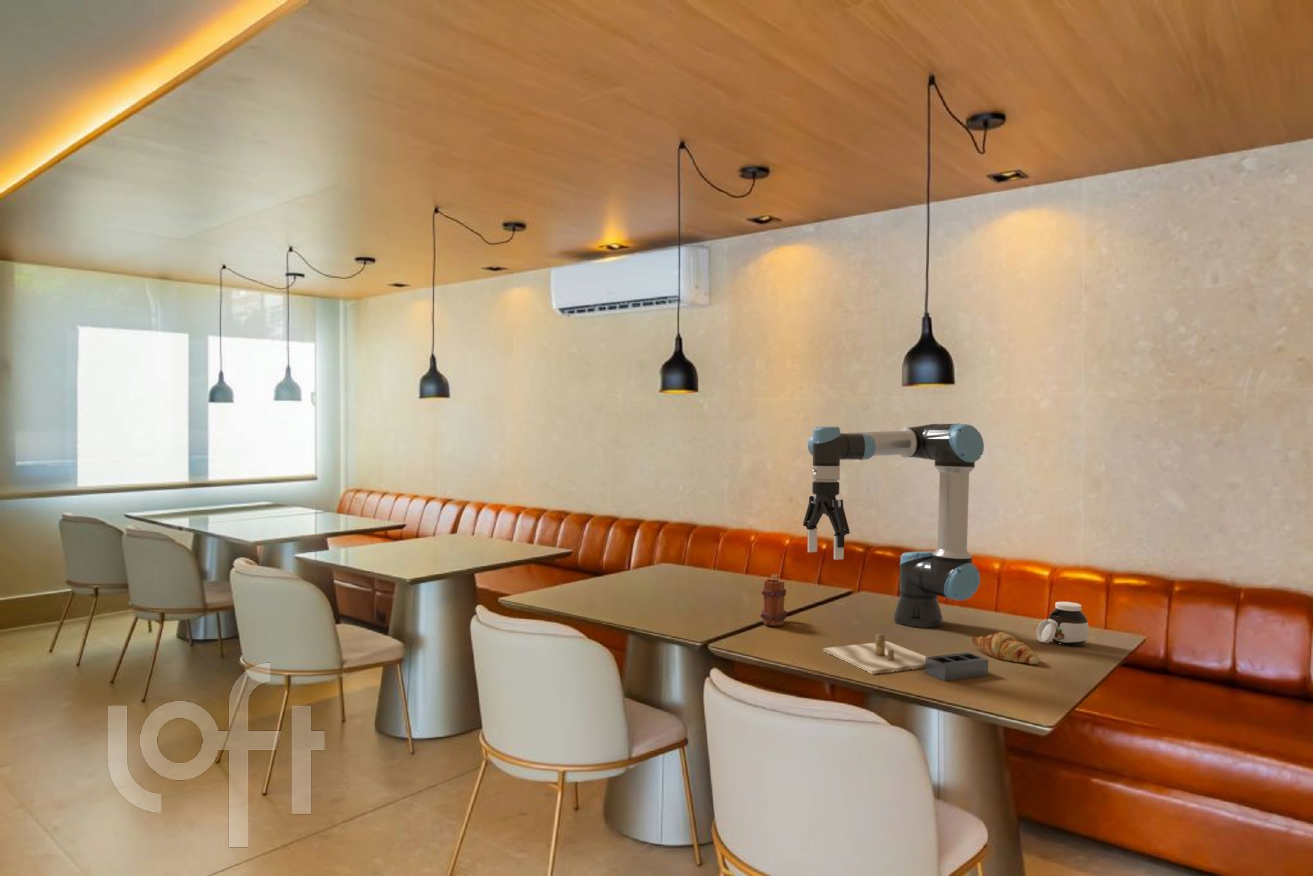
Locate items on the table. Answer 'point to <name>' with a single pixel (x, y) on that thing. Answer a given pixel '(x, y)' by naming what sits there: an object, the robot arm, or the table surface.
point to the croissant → (1006, 648)
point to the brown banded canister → (773, 601)
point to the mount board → (879, 656)
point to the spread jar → (1064, 625)
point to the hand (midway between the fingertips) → (825, 555)
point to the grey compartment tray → (956, 666)
